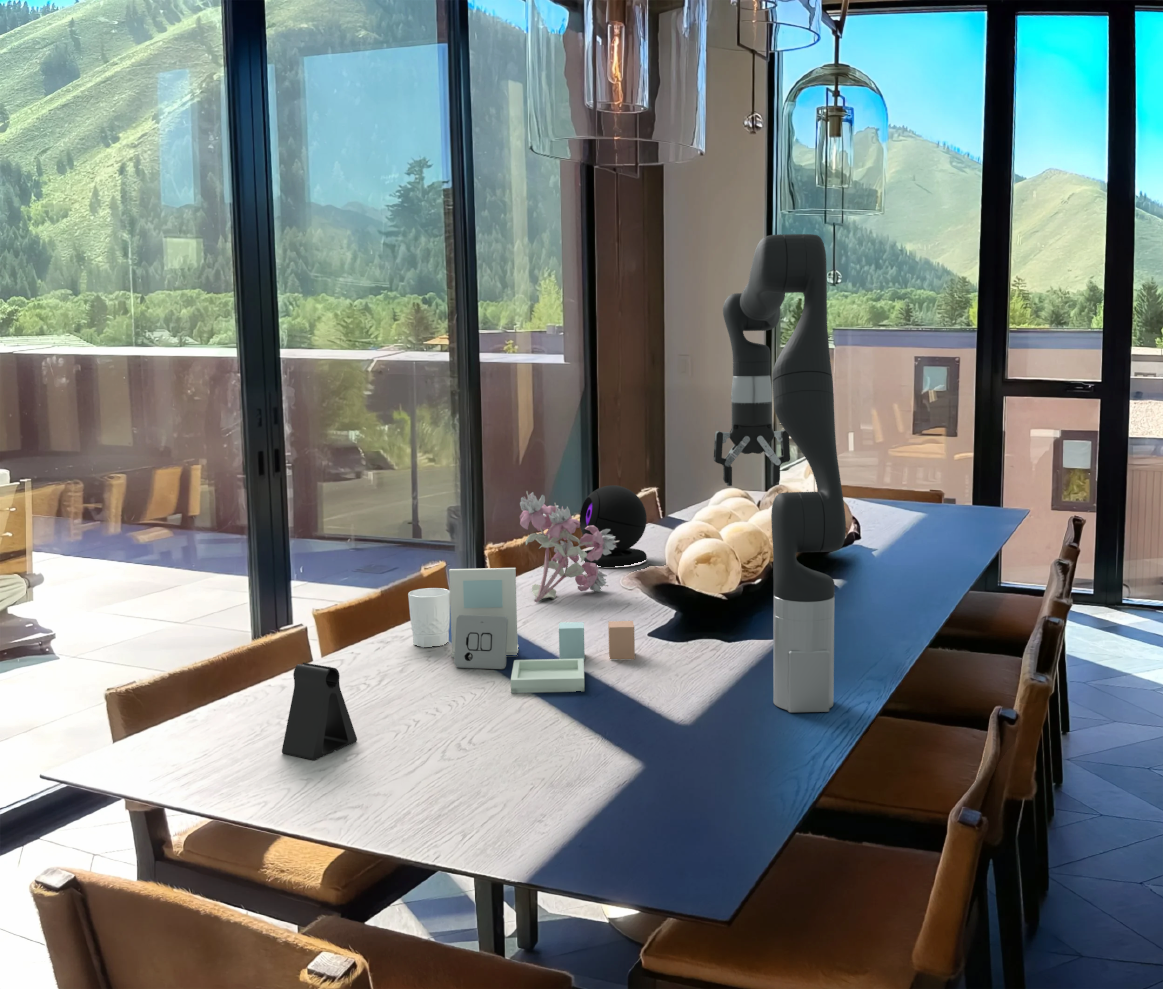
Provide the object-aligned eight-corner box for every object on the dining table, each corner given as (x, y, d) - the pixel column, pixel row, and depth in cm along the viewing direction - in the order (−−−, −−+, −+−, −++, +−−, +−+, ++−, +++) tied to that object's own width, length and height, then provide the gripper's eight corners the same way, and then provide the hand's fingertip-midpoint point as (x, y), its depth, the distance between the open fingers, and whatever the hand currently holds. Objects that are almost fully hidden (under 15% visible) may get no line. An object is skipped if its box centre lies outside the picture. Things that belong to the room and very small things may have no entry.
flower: (605, 604, 245) (620, 492, 252) (501, 592, 248) (519, 482, 255) (612, 624, 264) (627, 519, 271) (516, 612, 267) (533, 509, 274)
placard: (517, 656, 211) (515, 569, 209) (451, 657, 211) (448, 571, 209) (518, 648, 216) (516, 564, 214) (454, 650, 216) (451, 566, 214)
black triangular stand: (326, 735, 170) (322, 655, 169) (357, 741, 167) (353, 660, 166) (281, 754, 163) (277, 671, 161) (312, 761, 160) (308, 676, 158)
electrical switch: (453, 668, 204) (453, 616, 204) (462, 663, 209) (462, 612, 209) (504, 671, 202) (504, 618, 202) (512, 665, 207) (512, 614, 207)
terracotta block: (634, 659, 208) (634, 626, 207) (609, 660, 208) (609, 627, 207) (633, 653, 212) (633, 620, 211) (608, 653, 212) (608, 621, 211)
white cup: (401, 646, 220) (399, 594, 219) (426, 636, 227) (424, 586, 226) (436, 650, 216) (434, 598, 215) (459, 640, 223) (458, 589, 222)
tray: (584, 691, 189) (584, 678, 189) (511, 693, 189) (510, 679, 189) (583, 670, 201) (583, 658, 201) (514, 672, 201) (514, 660, 201)
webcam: (572, 558, 306) (571, 483, 303) (633, 554, 311) (632, 480, 308) (593, 570, 289) (591, 491, 287) (656, 565, 294) (656, 487, 292)
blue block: (584, 660, 208) (584, 628, 207) (559, 661, 208) (558, 628, 207) (584, 654, 212) (583, 622, 211) (559, 654, 212) (559, 622, 211)
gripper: (716, 401, 215) (717, 488, 217) (793, 400, 215) (793, 486, 217) (711, 399, 222) (711, 483, 224) (785, 398, 223) (784, 482, 225)
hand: (751, 485), depth 221 cm, fingers open, 8 cm apart
